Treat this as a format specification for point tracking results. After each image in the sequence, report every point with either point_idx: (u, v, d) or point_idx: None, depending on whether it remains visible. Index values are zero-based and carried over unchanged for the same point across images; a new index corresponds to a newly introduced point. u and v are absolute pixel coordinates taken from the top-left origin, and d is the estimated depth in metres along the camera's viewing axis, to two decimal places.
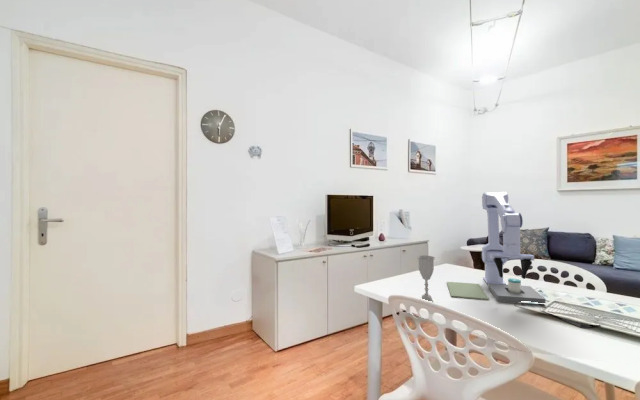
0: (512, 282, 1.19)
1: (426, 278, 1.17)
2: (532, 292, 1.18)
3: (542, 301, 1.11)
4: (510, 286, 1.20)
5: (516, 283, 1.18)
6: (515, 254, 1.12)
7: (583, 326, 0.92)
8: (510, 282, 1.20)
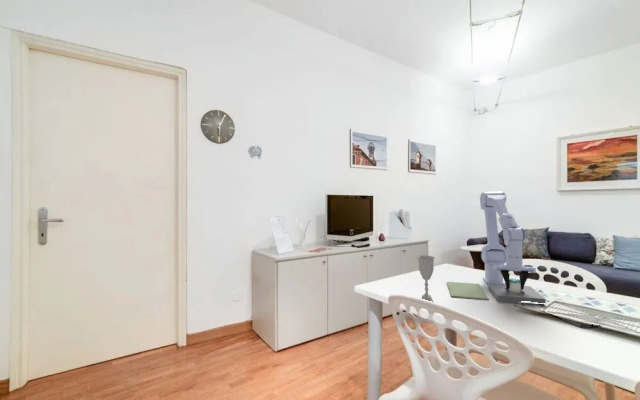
0: (512, 282, 1.19)
1: (426, 278, 1.17)
2: (532, 292, 1.18)
3: (542, 301, 1.11)
4: (510, 286, 1.20)
5: (516, 283, 1.18)
6: (517, 266, 1.18)
7: (583, 326, 0.92)
8: (510, 282, 1.20)
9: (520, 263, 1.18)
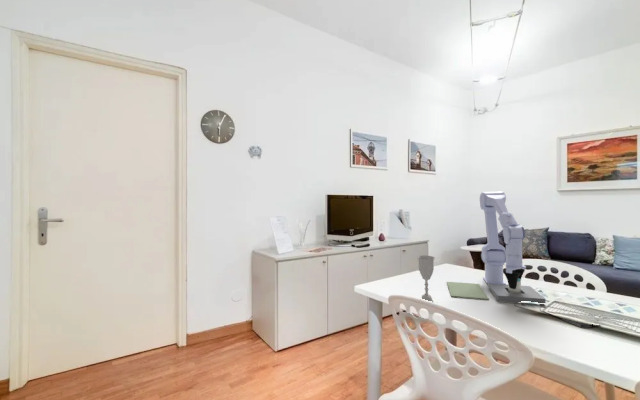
0: (518, 281, 1.18)
1: (426, 278, 1.17)
2: (532, 292, 1.18)
3: (542, 301, 1.11)
4: None
5: (520, 281, 1.19)
6: None
7: (583, 326, 0.92)
8: None
9: None
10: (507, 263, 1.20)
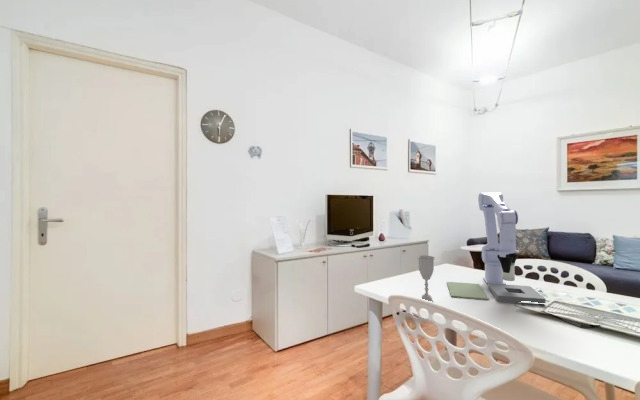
0: (512, 265, 1.19)
1: (426, 278, 1.17)
2: (532, 292, 1.18)
3: (542, 301, 1.11)
4: (510, 270, 1.19)
5: None
6: (515, 249, 1.20)
7: (583, 326, 0.92)
8: None
9: None
10: (501, 248, 1.21)
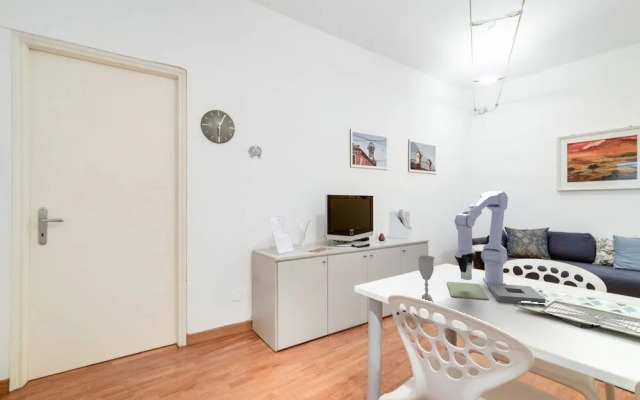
0: (469, 265, 1.27)
1: (426, 278, 1.17)
2: (532, 292, 1.18)
3: (542, 301, 1.11)
4: (467, 269, 1.27)
5: (471, 265, 1.27)
6: (472, 249, 1.27)
7: (583, 326, 0.92)
8: (467, 265, 1.27)
9: None
10: (458, 248, 1.29)
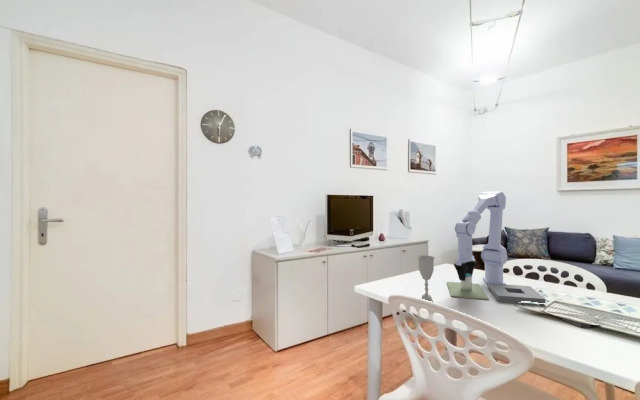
0: (469, 276, 1.27)
1: (426, 278, 1.17)
2: (532, 292, 1.18)
3: (542, 301, 1.11)
4: (467, 281, 1.27)
5: (471, 276, 1.27)
6: (472, 257, 1.27)
7: (583, 326, 0.92)
8: (467, 277, 1.27)
9: None
10: (459, 256, 1.29)
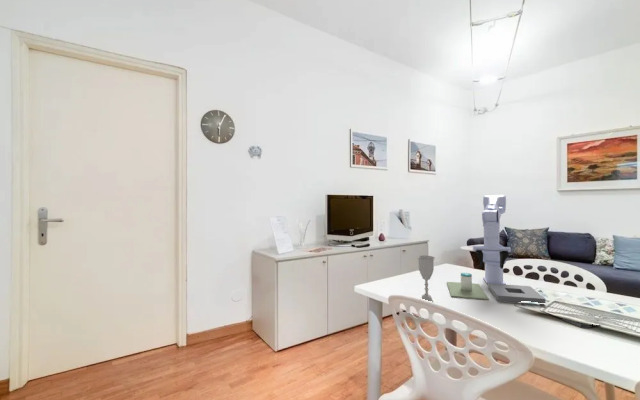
0: (469, 276, 1.27)
1: (426, 278, 1.17)
2: (532, 292, 1.18)
3: (542, 301, 1.11)
4: (467, 281, 1.27)
5: (471, 276, 1.27)
6: (494, 246, 1.25)
7: (583, 326, 0.92)
8: (467, 277, 1.27)
9: (496, 243, 1.25)
10: None
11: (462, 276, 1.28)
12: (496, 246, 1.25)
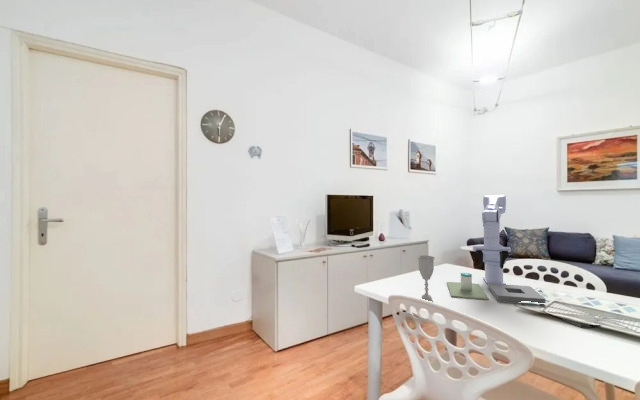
0: (469, 276, 1.27)
1: (426, 278, 1.17)
2: (532, 292, 1.18)
3: (542, 301, 1.11)
4: (467, 281, 1.27)
5: (471, 276, 1.27)
6: (494, 246, 1.25)
7: (583, 326, 0.92)
8: (467, 277, 1.27)
9: (496, 243, 1.25)
10: None
11: (462, 276, 1.28)
12: (496, 246, 1.25)
